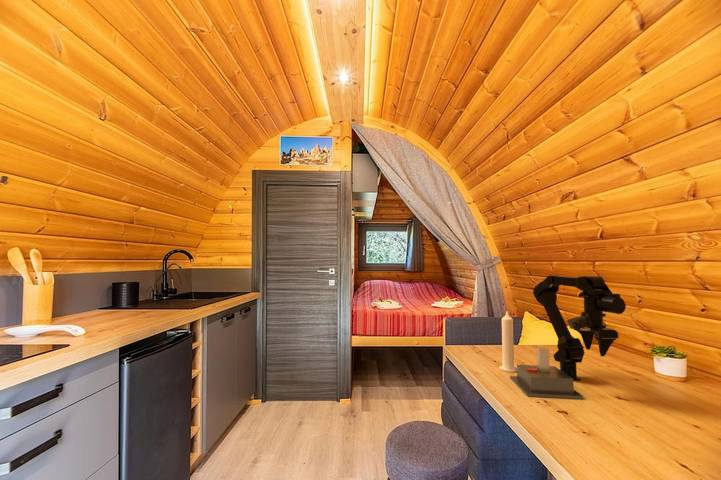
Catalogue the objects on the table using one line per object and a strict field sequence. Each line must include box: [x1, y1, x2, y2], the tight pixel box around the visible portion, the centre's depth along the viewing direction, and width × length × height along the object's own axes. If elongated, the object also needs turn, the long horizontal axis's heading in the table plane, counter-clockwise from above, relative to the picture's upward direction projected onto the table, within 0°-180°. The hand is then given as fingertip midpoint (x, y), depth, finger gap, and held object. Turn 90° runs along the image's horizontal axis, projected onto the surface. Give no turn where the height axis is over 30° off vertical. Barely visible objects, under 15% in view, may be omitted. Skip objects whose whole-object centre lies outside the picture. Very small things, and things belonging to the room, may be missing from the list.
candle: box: [499, 310, 517, 373], centre depth 145 cm, size 7×7×25 cm
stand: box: [509, 364, 584, 400], centre depth 123 cm, size 18×18×7 cm
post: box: [536, 346, 551, 373], centre depth 123 cm, size 3×3×9 cm
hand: (595, 352), depth 123 cm, fingers open, 9 cm apart
